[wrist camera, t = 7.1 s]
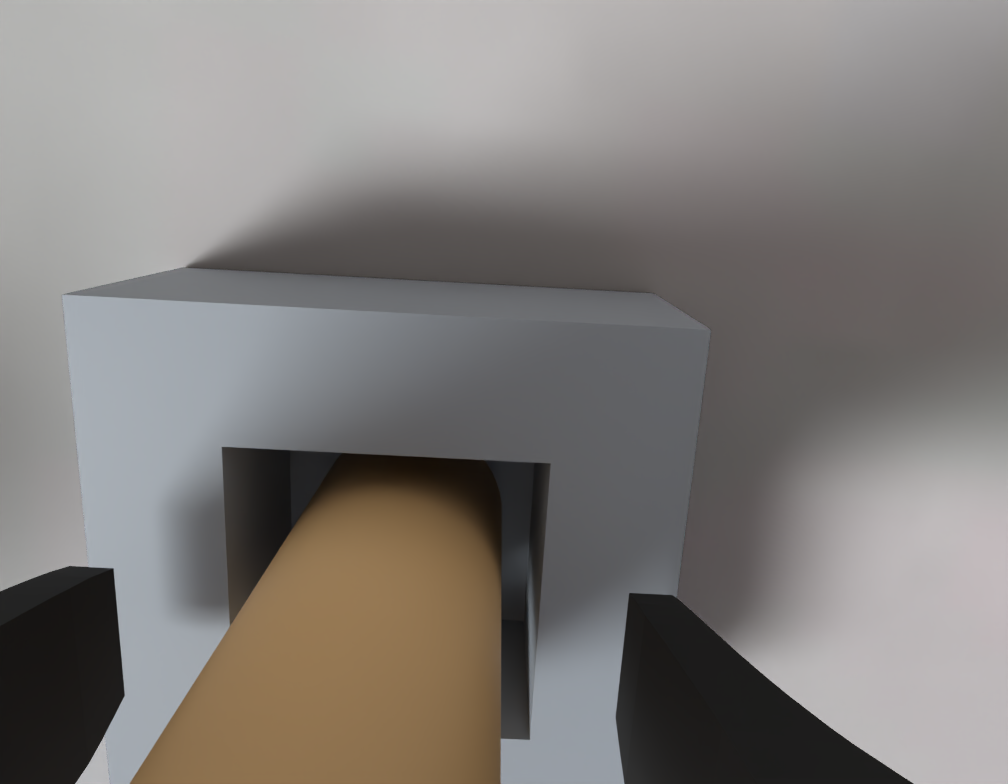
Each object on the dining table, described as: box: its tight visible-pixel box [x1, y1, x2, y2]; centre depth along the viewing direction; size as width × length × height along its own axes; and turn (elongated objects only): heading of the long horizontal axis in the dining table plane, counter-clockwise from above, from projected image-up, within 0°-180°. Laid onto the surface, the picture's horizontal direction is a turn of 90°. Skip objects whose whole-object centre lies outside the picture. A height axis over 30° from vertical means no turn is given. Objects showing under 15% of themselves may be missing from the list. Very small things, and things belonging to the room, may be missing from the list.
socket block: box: [62, 268, 711, 784], centre depth 13 cm, size 9×9×4 cm
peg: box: [130, 453, 502, 784], centre depth 10 cm, size 4×4×10 cm
